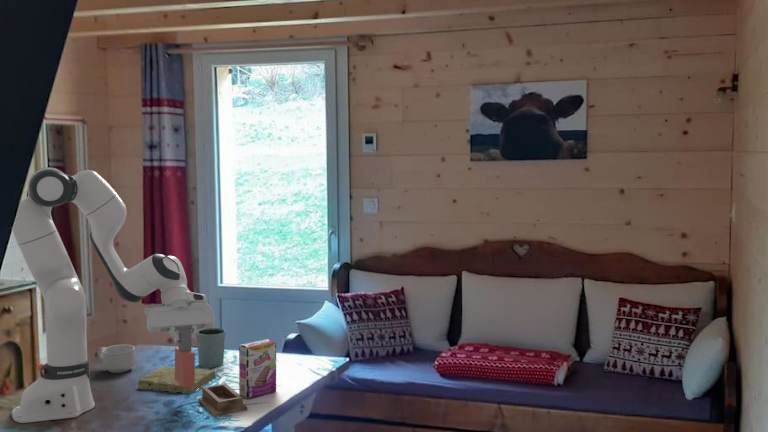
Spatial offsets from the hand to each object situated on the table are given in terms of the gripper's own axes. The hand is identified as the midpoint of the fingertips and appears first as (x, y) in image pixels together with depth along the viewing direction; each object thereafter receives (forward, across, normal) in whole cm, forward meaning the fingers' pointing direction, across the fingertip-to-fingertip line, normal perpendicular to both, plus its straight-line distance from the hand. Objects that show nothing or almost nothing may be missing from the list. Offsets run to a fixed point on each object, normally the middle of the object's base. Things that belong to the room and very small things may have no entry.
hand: (185, 341), depth 230 cm
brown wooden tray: (+18, +9, +8) cm, 22 cm away
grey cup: (-13, +20, +40) cm, 47 cm away
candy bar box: (+15, +22, +11) cm, 29 cm away
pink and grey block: (+9, 0, +10) cm, 13 cm away
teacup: (-20, -10, +48) cm, 53 cm away
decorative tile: (-1, +3, +29) cm, 30 cm away
